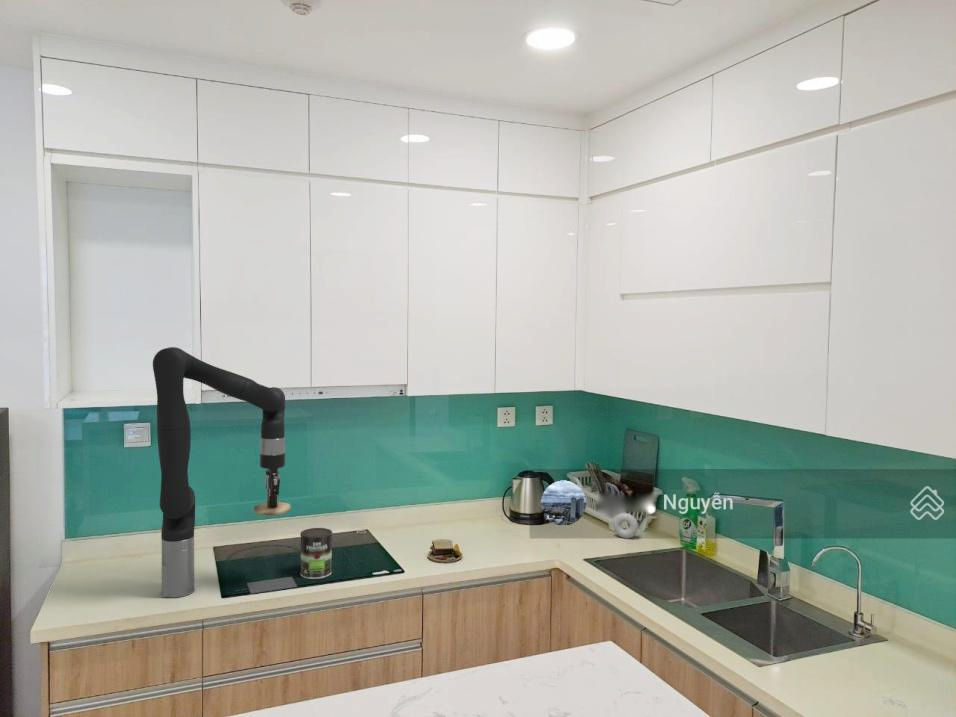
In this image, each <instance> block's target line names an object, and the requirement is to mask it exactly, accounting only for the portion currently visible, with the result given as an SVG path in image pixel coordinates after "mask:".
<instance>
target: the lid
mask: <svg viewBox="0 0 956 717" xmlns="http://www.w3.org/2000/svg"><path fill="white" fill-rule="evenodd" d="M278 497H279V495H278V496H277V507H276V508H270V507H269V493H267V494H266V498H267V499H266V500H267V501H266V502H263V503H262V502H261V503H259V504H256V505H254V507H253V513H254V514H256V515H260V516H279V515H284V514H288V513H290V512H291V504H290V503H288V502H285V501H284V502H283V501H279V499H278Z"/></svg>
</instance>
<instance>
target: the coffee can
mask: <svg viewBox="0 0 956 717" xmlns="http://www.w3.org/2000/svg"><path fill="white" fill-rule="evenodd" d="M299 535H300V571H299V572H300V576H301V577H302V578H304V579H312V580H314V579H322V578H326V577H329V576H330V575H331V574H332V572H333V571H332V569H333V568H332V567H333V566H332V564H333V563H332V559H333V558H332V556H333V554H332V553H333V549H332V548H333V530H332V529H329V528H325V527H312V528H307V529H304V530H302V531H300V534H299Z"/></svg>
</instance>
